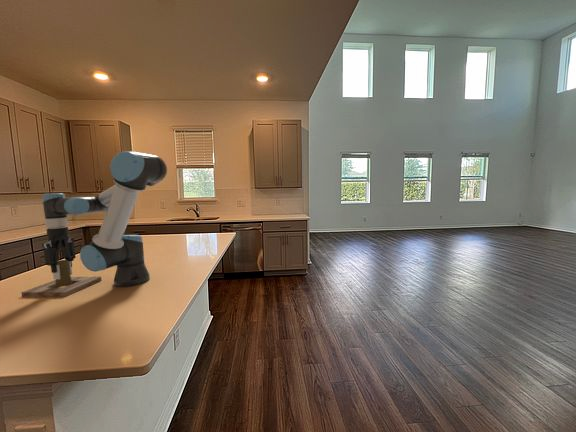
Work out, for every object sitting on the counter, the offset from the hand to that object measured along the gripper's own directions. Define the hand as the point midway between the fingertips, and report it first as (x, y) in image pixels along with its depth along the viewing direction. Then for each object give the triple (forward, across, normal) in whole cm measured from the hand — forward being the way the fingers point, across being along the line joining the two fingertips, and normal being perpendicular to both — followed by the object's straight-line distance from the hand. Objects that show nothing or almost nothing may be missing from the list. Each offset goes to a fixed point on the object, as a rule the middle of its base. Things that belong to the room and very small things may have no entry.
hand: (63, 276), depth 123 cm
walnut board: (+5, 0, 0) cm, 5 cm away
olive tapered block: (+3, 0, 0) cm, 3 cm away
